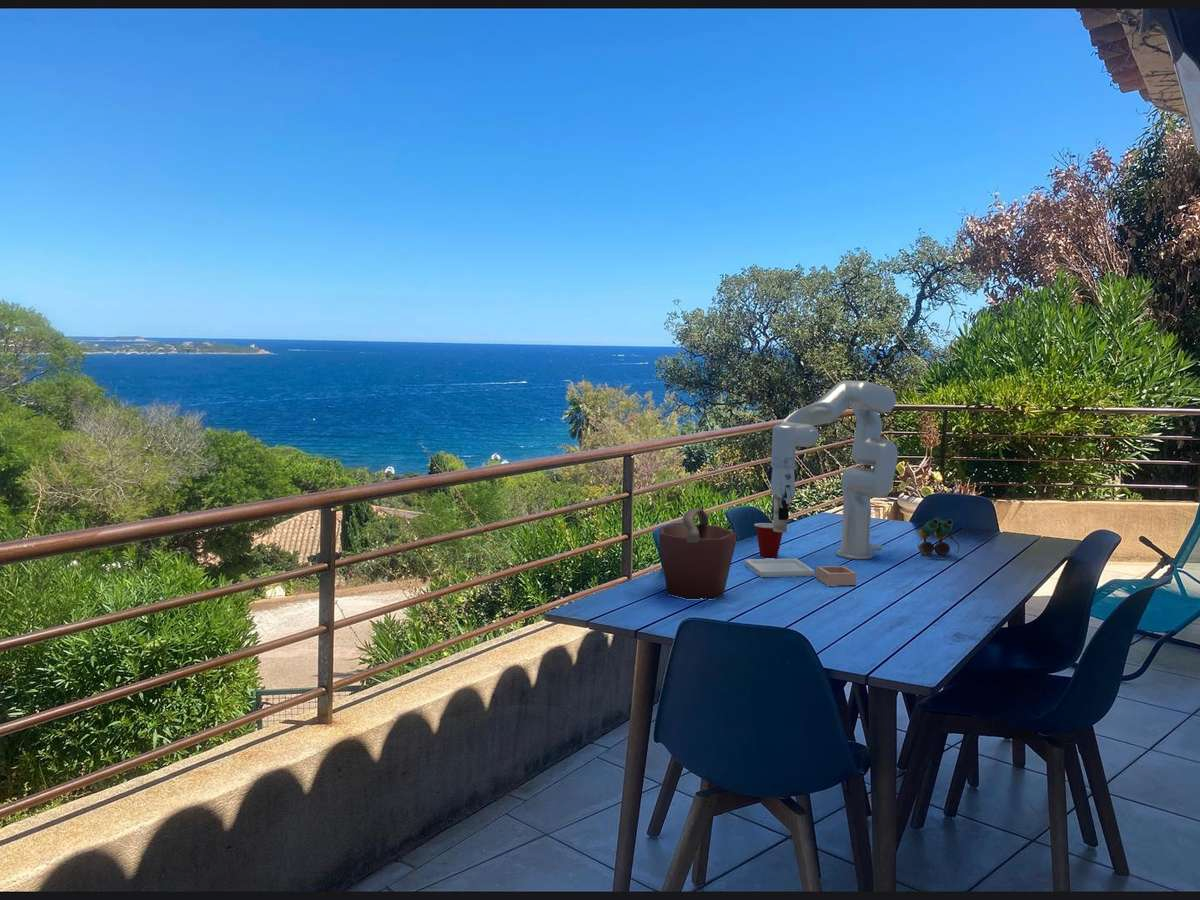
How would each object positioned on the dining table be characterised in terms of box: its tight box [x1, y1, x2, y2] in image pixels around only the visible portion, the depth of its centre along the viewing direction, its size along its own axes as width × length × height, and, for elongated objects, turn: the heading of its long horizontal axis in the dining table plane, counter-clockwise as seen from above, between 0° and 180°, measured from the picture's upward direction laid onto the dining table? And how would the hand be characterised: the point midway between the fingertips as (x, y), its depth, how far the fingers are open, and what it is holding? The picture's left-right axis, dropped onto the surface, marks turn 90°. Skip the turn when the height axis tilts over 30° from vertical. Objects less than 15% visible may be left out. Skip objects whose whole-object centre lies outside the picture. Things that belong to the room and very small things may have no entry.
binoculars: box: [917, 517, 960, 561], centre depth 290 cm, size 14×14×15 cm
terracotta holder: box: [815, 565, 857, 586], centre depth 256 cm, size 9×9×4 cm
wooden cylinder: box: [772, 494, 788, 533], centre depth 267 cm, size 4×4×12 cm
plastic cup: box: [754, 522, 784, 558], centre depth 287 cm, size 11×11×12 cm
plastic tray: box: [744, 557, 816, 578], centre depth 269 cm, size 18×16×2 cm
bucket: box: [659, 508, 737, 599], centre depth 241 cm, size 24×22×25 cm
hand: (780, 517), depth 267 cm, fingers closed on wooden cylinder, 4 cm apart
